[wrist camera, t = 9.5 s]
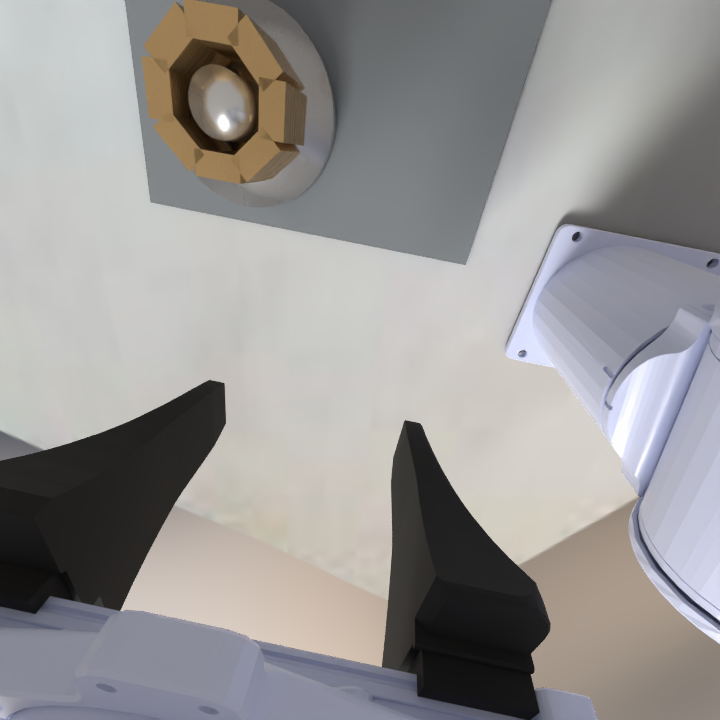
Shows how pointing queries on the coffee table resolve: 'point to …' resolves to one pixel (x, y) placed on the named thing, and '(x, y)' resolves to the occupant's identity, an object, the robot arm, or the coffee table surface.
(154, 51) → the ring
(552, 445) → the coffee table surface
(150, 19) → the bench mat
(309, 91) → the metal peg stand
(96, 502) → the robot arm
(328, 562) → the coffee table surface
